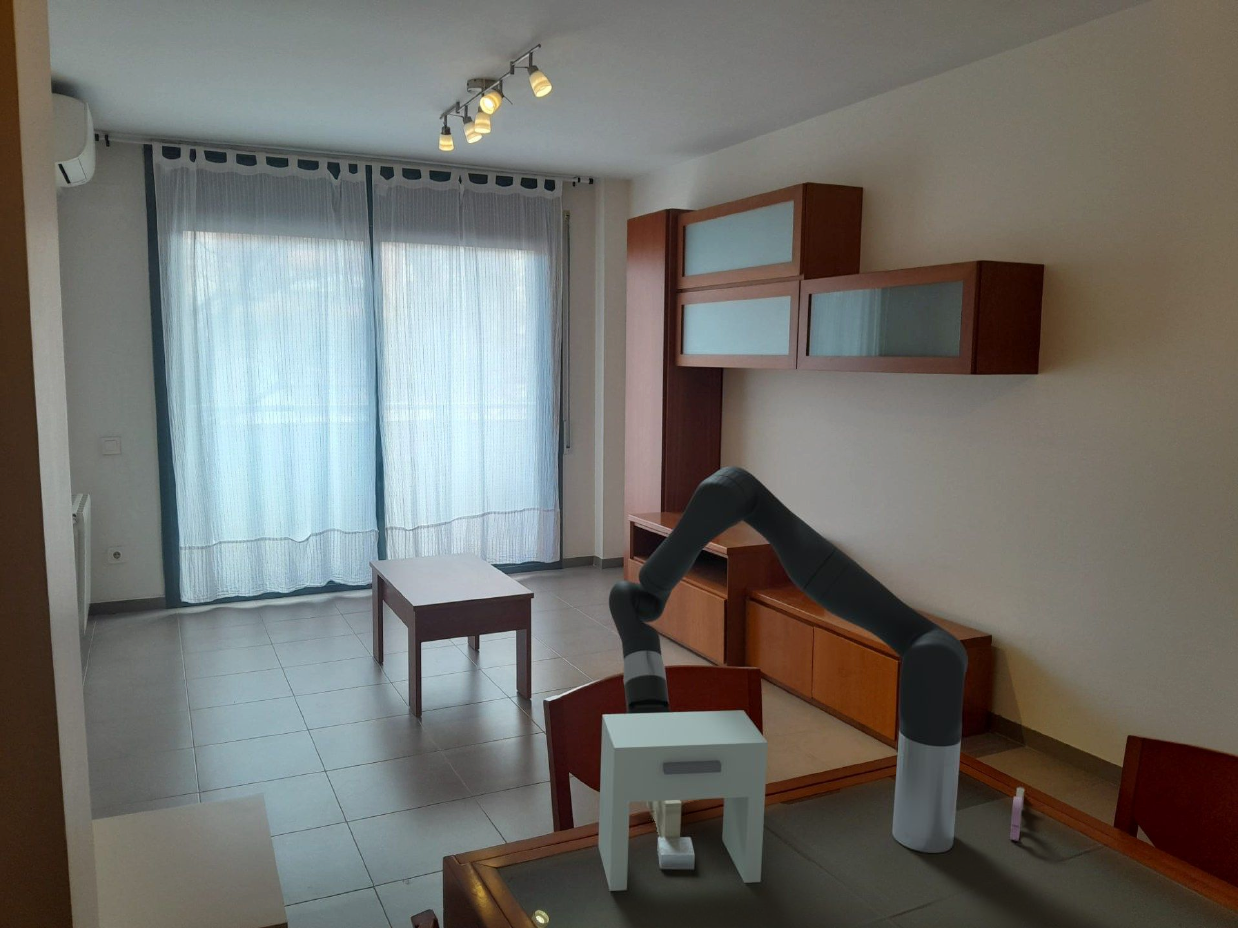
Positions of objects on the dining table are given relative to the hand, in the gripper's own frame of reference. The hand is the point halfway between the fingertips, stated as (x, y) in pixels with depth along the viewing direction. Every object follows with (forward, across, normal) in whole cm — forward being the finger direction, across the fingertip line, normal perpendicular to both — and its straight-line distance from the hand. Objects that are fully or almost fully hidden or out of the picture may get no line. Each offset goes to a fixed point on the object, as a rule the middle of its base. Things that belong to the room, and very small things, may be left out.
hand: (655, 777), depth 154 cm
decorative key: (+10, +60, -3) cm, 61 cm away
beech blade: (+6, 0, +1) cm, 6 cm away
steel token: (+15, 0, -8) cm, 18 cm away
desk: (+16, 0, -9) cm, 19 cm away
